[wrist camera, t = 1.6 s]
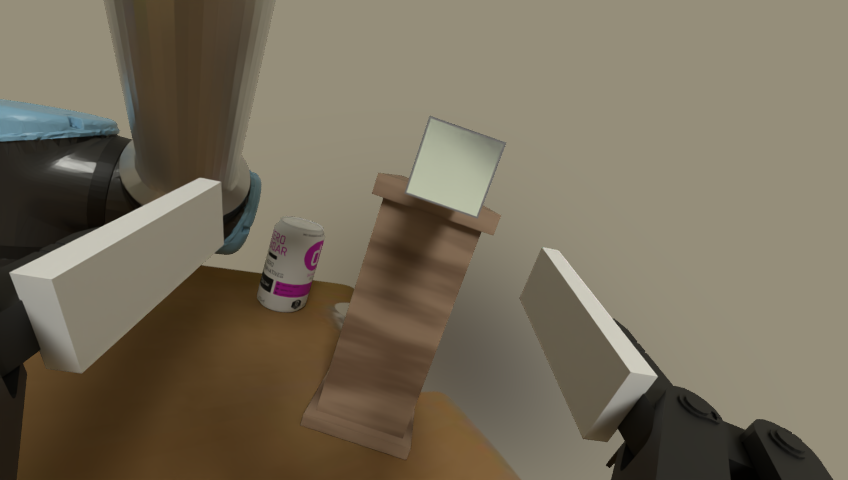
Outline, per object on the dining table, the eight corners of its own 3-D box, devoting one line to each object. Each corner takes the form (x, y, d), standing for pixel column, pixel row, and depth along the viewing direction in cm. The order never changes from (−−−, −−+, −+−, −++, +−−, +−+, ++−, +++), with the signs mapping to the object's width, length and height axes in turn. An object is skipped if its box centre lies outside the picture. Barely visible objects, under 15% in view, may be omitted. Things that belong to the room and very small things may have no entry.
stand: (406, 460, 36) (501, 215, 31) (300, 425, 36) (378, 172, 31) (417, 361, 56) (476, 201, 51) (348, 338, 55) (401, 175, 50)
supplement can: (312, 303, 63) (334, 228, 60) (288, 319, 55) (312, 234, 52) (274, 287, 64) (294, 213, 61) (245, 301, 56) (266, 216, 53)
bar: (477, 218, 18) (506, 142, 17) (404, 193, 18) (429, 115, 17) (452, 194, 48) (462, 166, 47) (424, 185, 47) (434, 156, 47)
